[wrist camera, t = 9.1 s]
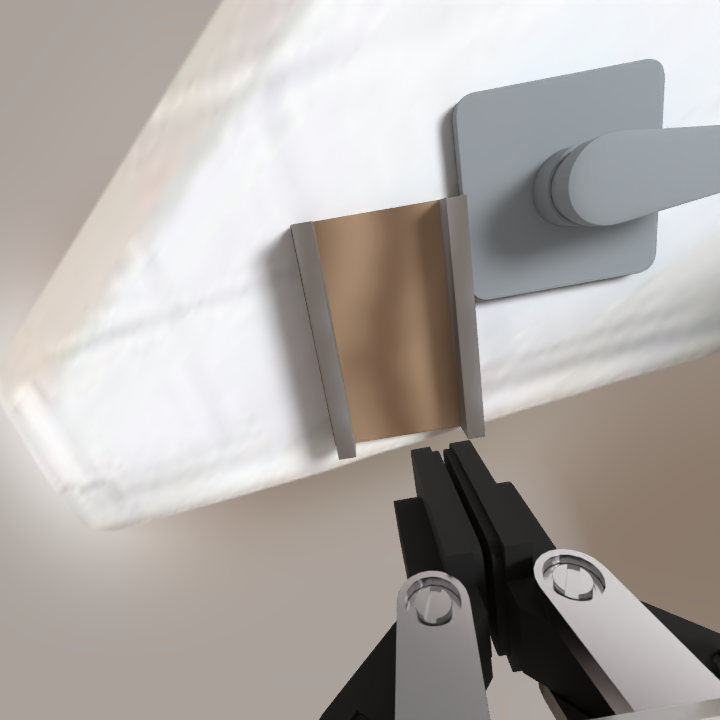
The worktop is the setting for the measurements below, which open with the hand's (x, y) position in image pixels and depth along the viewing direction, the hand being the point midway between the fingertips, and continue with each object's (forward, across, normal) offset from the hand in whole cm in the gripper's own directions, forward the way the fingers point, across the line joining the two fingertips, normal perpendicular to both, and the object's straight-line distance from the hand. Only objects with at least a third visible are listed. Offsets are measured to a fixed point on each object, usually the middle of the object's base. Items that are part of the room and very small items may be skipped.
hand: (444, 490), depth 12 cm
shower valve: (+15, -22, -8) cm, 28 cm away
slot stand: (+19, -1, 0) cm, 19 cm away
